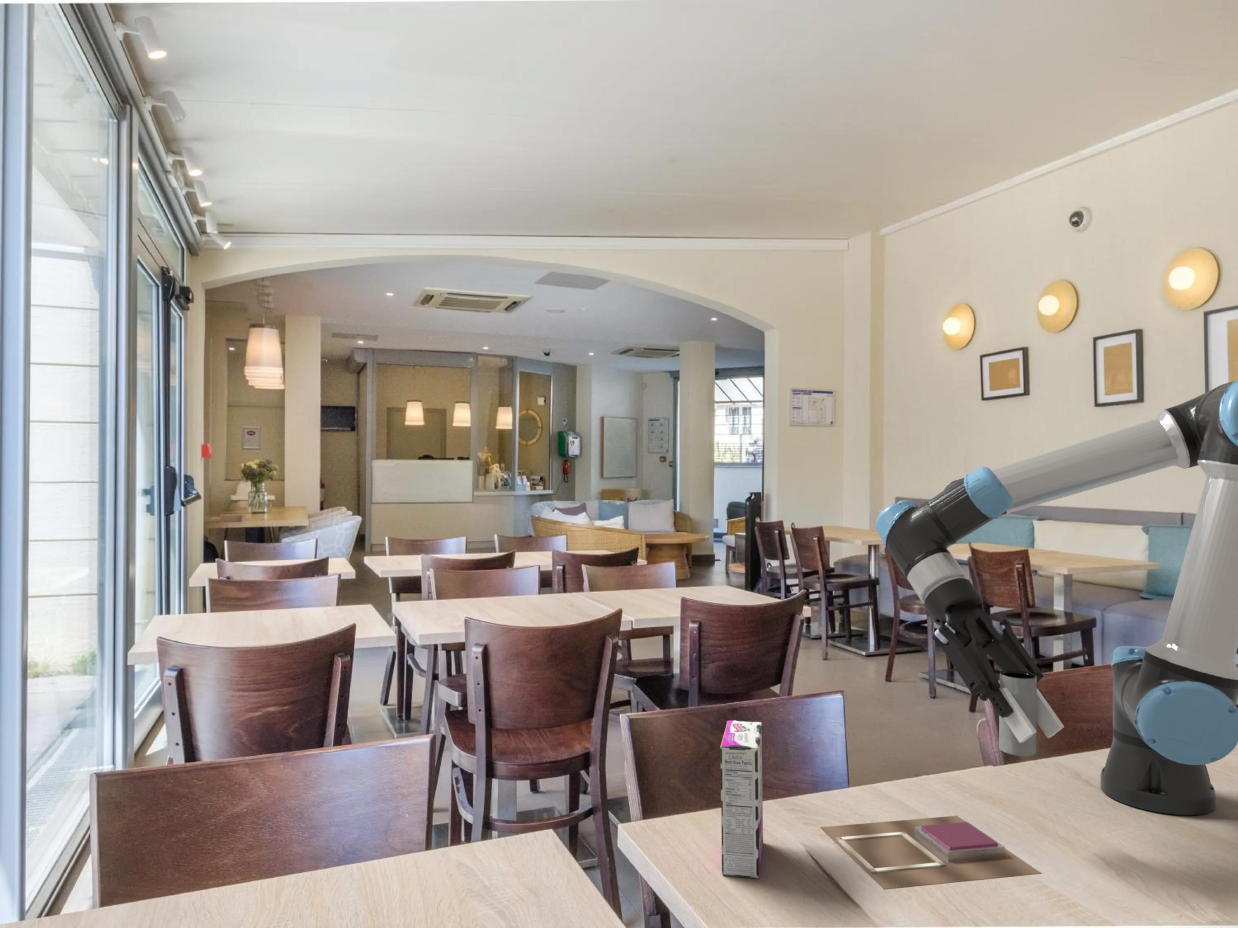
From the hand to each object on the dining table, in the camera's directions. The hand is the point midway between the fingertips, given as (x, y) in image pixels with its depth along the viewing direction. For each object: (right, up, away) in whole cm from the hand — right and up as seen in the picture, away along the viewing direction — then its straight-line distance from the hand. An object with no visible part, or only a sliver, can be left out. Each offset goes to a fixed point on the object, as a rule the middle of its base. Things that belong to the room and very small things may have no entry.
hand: (1041, 734), depth 112 cm
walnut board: (-15, -16, 0) cm, 22 cm away
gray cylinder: (-2, -3, +3) cm, 5 cm away
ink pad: (-10, -15, +1) cm, 18 cm away
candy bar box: (-39, -16, 0) cm, 42 cm away
